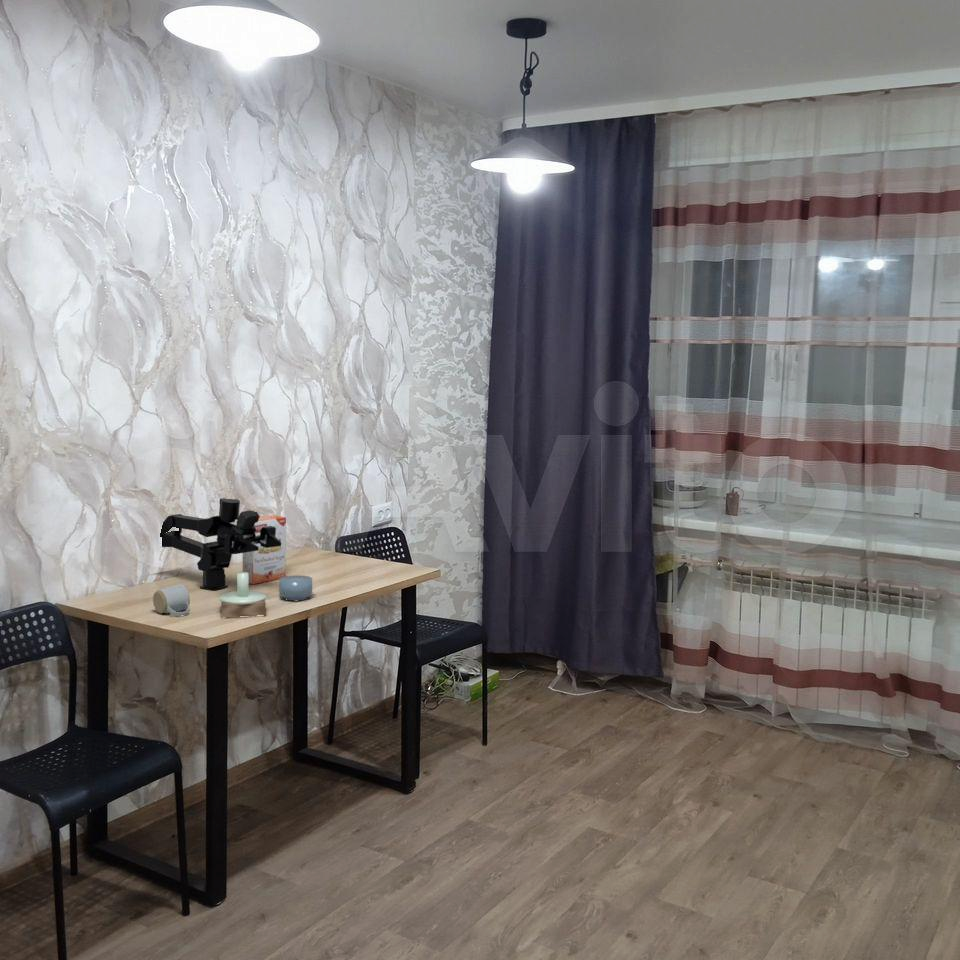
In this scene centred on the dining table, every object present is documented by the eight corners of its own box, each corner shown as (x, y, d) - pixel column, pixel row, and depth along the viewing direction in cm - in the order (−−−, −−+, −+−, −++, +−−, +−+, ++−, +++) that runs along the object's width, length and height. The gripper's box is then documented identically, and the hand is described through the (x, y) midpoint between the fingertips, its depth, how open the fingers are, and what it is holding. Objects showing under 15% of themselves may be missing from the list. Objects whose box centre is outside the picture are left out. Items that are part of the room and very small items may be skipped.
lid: (210, 600, 281) (209, 574, 280) (241, 591, 292) (241, 566, 291) (244, 606, 274) (244, 580, 273) (275, 597, 286) (275, 571, 285)
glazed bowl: (272, 599, 299) (272, 580, 298) (293, 592, 308) (293, 574, 307) (297, 603, 294) (297, 584, 293) (318, 597, 303) (318, 578, 302)
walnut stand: (222, 618, 276) (222, 604, 276) (221, 607, 288) (221, 594, 287) (265, 616, 280) (265, 602, 279) (263, 605, 291) (263, 592, 290)
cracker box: (253, 585, 316) (253, 521, 314) (241, 582, 320) (241, 519, 317) (287, 578, 327) (286, 516, 325) (274, 575, 331) (274, 514, 328)
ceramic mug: (151, 612, 282) (150, 586, 281) (176, 607, 288) (176, 581, 287) (171, 619, 275) (171, 593, 274) (197, 614, 281) (196, 588, 280)
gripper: (212, 512, 295) (248, 524, 286) (259, 505, 310) (294, 516, 302) (210, 548, 297) (245, 561, 289) (256, 539, 312) (291, 551, 304)
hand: (269, 546), depth 296 cm, fingers open, 9 cm apart
